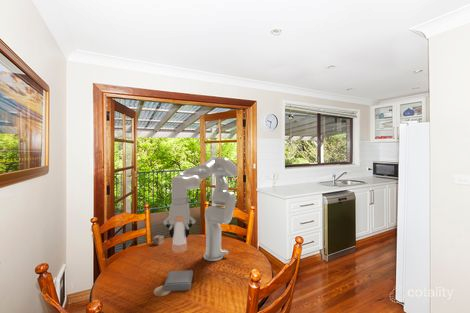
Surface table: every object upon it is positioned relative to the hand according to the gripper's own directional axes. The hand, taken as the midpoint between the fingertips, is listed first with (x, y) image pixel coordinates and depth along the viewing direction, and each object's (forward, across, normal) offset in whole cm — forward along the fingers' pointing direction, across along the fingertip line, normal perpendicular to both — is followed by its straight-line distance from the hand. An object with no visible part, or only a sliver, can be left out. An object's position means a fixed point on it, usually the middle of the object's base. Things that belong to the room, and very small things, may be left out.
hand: (179, 236), depth 108 cm
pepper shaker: (+7, 0, -1) cm, 7 cm away
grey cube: (+24, +23, -50) cm, 60 cm away
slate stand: (+23, 0, 0) cm, 23 cm away
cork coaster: (+24, +7, +6) cm, 26 cm away
